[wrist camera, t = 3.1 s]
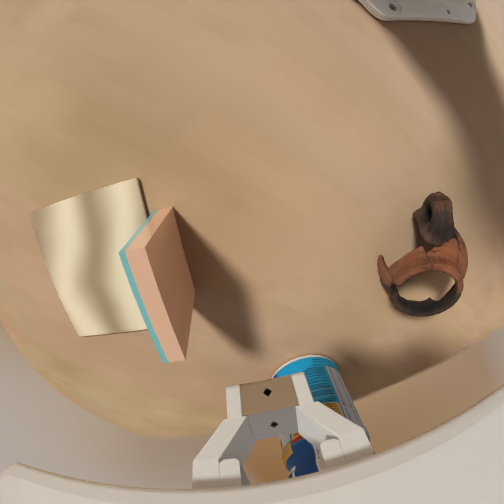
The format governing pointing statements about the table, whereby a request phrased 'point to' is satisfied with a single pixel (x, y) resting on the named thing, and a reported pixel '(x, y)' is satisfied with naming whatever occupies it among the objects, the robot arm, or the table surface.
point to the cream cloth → (93, 255)
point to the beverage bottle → (323, 390)
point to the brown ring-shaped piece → (429, 258)
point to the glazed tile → (161, 283)
